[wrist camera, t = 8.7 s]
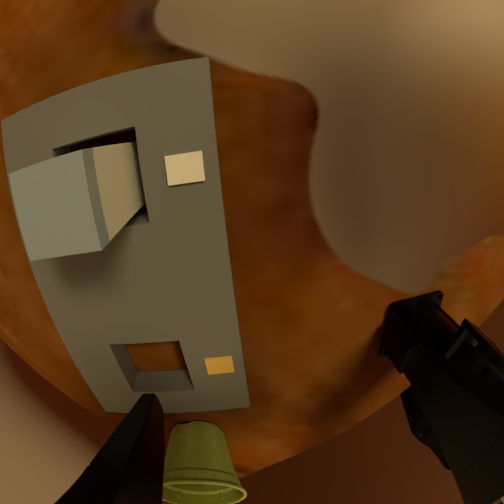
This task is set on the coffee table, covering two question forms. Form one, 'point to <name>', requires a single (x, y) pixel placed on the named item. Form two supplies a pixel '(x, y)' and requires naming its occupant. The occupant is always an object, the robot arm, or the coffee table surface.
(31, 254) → the plug
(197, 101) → the panel board
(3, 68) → the coffee table surface
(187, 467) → the plant pot
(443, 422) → the robot arm
